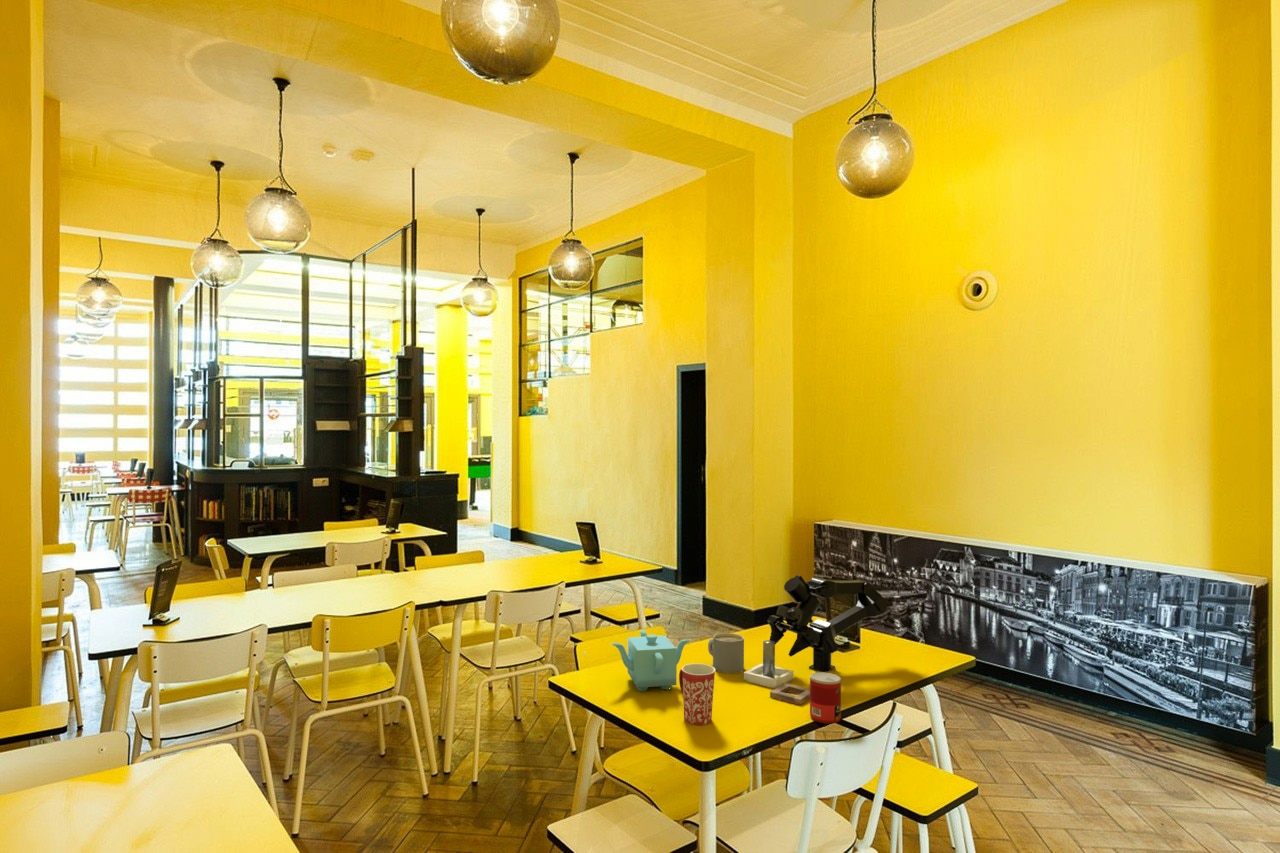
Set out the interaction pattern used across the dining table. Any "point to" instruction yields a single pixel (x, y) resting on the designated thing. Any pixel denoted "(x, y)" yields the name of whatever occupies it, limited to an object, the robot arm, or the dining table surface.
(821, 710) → the canned food
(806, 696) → the brown flat square frame
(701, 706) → the mug
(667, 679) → the teakettle
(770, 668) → the strut
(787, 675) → the bin tray
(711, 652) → the coffee mug
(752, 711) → the dining table surface
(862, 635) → the dining table surface
